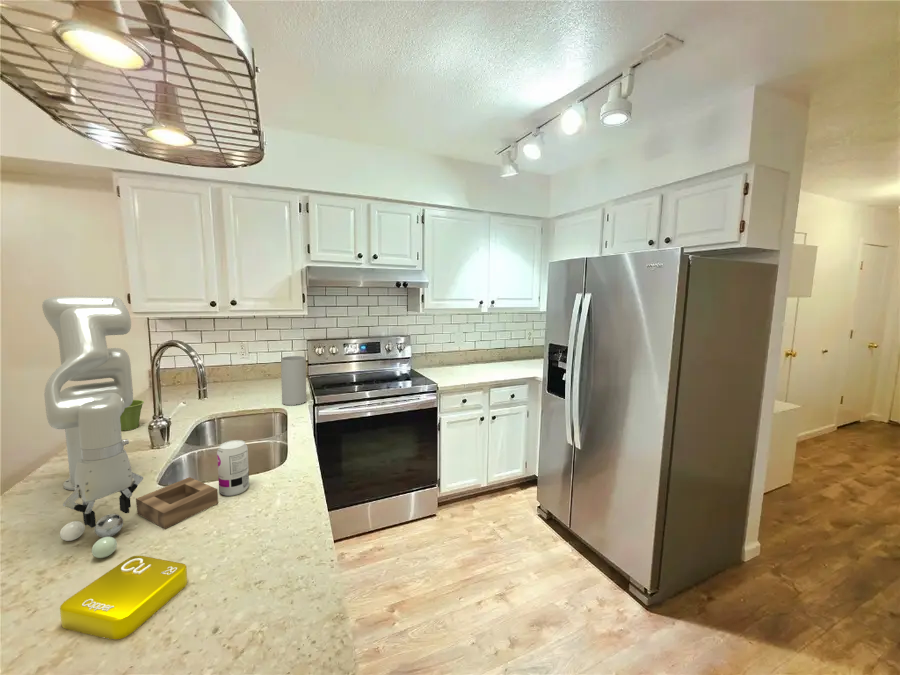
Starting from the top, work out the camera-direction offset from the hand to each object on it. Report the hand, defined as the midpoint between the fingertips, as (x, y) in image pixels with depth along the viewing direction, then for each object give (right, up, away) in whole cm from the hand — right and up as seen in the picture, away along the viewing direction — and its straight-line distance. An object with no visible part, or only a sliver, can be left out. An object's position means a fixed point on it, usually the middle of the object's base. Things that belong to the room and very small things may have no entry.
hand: (108, 517), depth 96 cm
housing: (+8, -3, +13) cm, 16 cm away
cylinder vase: (0, +9, +114) cm, 115 cm away
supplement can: (+18, -3, +24) cm, 30 cm away
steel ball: (0, -2, 0) cm, 2 cm away
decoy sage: (+5, -4, -7) cm, 9 cm away
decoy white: (-8, -3, -1) cm, 8 cm away
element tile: (+21, -9, -19) cm, 30 cm away
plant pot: (-55, +5, +71) cm, 90 cm away
